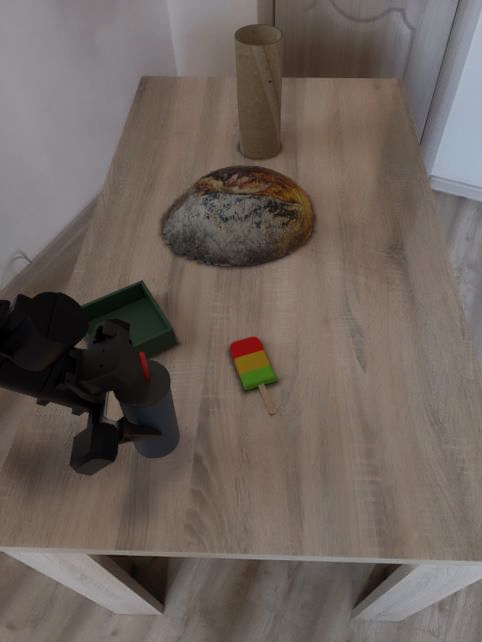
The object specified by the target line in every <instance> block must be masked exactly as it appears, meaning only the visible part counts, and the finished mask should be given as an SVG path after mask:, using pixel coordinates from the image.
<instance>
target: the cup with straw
mask: <svg viewBox="0 0 482 642" xmlns="http://www.w3.org/2000/svg"><path fill="white" fill-rule="evenodd" d="M137 372H138V376H137V379H136V381H135V383H134V384H132V385H131V386H128V387H122V388H119V389H116V390H113V391H112V393H113V395H114V398H115V399H116V401H117V402H118V405H119V407H120V410H121V413H122V415H123V416H126V418H127V419H128V421H129V422H130V423H133V424H137V425H141V426H145V427H149V428H153V429H156V430H158V431H161V432H162V433H163V434H162V436H161V437H159V438H155V439H148V440H142V441H135V442H132V443H133V446H134V448H135V450H136V452H137V453H138V454H139V455H141V456H142V457H145V458H147V459H162V458H164V457H167V456H168V455H170V454H172V453H173V452H174V451H175V449H176V448H177V447H178V445H179V442H180V439H181V433H180V428H179V422H178V418H177V413H176V407H175V403H174V397H173V392H172V388H171V385H172V381H171V380H172V379H171V374H170V372H169V370H168V369H167V368H166V366H165V365H164V364H162V363H160V362H159V361H155V360H151V359H146V358H145V354H144V353H143V352H140V353H139V360H138V362H137Z"/></svg>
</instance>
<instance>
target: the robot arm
mask: <svg viewBox="0 0 482 642" xmlns="http://www.w3.org/2000/svg"><path fill="white" fill-rule="evenodd" d="M88 328H89V324H88V318H87V315H86V313H85V311H84V310H83V308H82V307H81V304H80V303H79V302H78V301H77V300H75V299H74V298H73V297H72V296H70V295H68V294H66V293H64V292H62V291H59V292H57V291H56V292H55V291H43V292H39V293H38V294H36V295H35V296H33V297H30V296H28V295H25V294H23V293H18V294H17V295H15V297H14V298H13V300H12V301H10V300H9V299H0V389H3V390H7V391H10V392H14V393H17V394H22V395H25V396H28V397H32V398H34V399H36V403H35V405H38V406H42V407H46V406H47V405H49V404H50V403H51V404H55V405H59V406H62V407H65V408H69V409H71V412H70V414H71V415H74V416H77V417H81V416H82V415H83V414H88V415H87V422H86V428H84V429H83V430H81V431H80V432H78V433H77V434H76V435H74V436H73V437H72V445H71V452H70V458H69V467H70V468H71V470H73V472H75V473H76V474H79V475H84V476H89V477H92V476H93V475H95V474H96V473H98V472H100V471H101V470H103V469H105V468H106V467H108V466H110V465H112V464H113V463H115V462H116V459H117V457H118V455H119V454H118V453H119V446H120V445H124V444H127V443H133V442H135V441H142V440H148V439H155V438H159V437H161V436H162V434H163V433H162V432H161V431H158V430H156V429H153V428H149V427H145V426H141V425H137V424H133V423H130V422H129V421H128V419H127V418H126V416H124V415H123V416H122V417H120V418H119V419H117V420H114V419H111V418H109V417H107V414H108V405H109V395H110V392H113V390H116V389H119V388H122V387H128V386H131V385H132V384H134V383H135V381H136V379H137V376H138V372H137V362H138V358H139V351H138V350H137V349H136V348H135V347H133V341H132V340H131V339H130V324H129V323H128V322H125V321H123V320H121V319H119V318H110V319H107V320H106V321H102V322H100V323H97V324H96V325H95V331H94V332H93V333H91V334H90V335H89V342H88V341H87V348H79V347H77V345H78V344H79V343H80V342H81V341H83V339H84V338H86V334H87V332H88Z"/></svg>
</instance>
